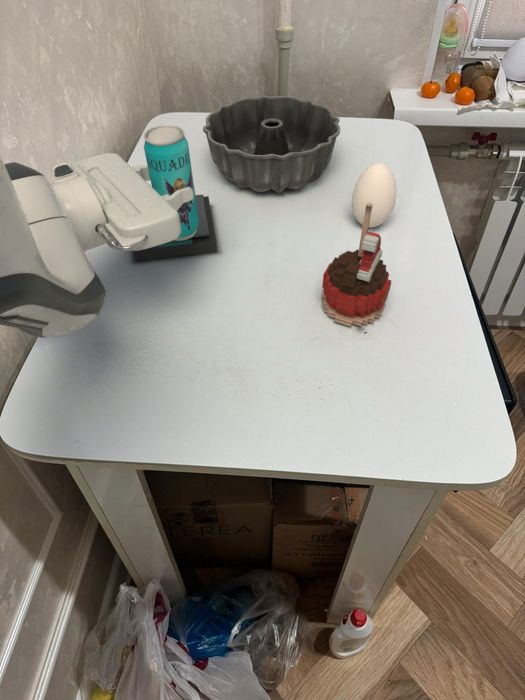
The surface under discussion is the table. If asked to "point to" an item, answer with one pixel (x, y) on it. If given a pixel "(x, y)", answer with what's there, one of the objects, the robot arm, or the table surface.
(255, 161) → the bundt pan
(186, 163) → the beverage can
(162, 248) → the kitchen scale
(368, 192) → the egg
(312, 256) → the table surface
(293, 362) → the table surface
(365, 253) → the cake
